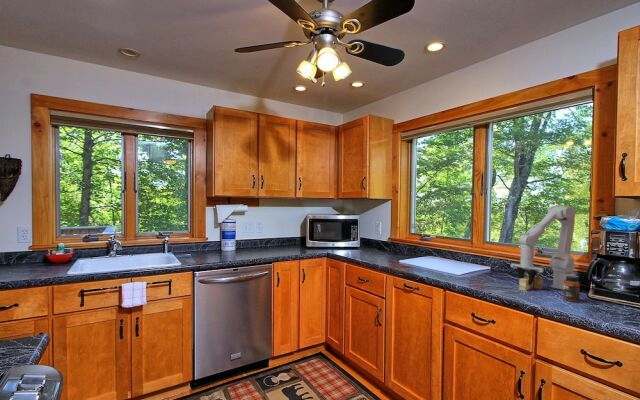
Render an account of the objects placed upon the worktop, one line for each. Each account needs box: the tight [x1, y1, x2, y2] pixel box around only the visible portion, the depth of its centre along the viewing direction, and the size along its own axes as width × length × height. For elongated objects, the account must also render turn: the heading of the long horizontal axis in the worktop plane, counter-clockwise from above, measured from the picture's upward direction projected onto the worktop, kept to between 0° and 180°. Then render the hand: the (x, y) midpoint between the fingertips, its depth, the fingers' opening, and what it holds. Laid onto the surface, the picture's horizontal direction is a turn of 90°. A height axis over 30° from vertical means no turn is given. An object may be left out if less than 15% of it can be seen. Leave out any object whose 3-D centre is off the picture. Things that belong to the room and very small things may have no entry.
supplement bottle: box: [562, 276, 581, 303], centre depth 145 cm, size 6×6×11 cm
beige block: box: [518, 276, 534, 292], centre depth 163 cm, size 10×3×6 cm, turn 126°
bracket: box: [524, 272, 544, 290], centre depth 167 cm, size 9×4×7 cm, turn 36°
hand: (526, 283), depth 163 cm, fingers open, 3 cm apart
